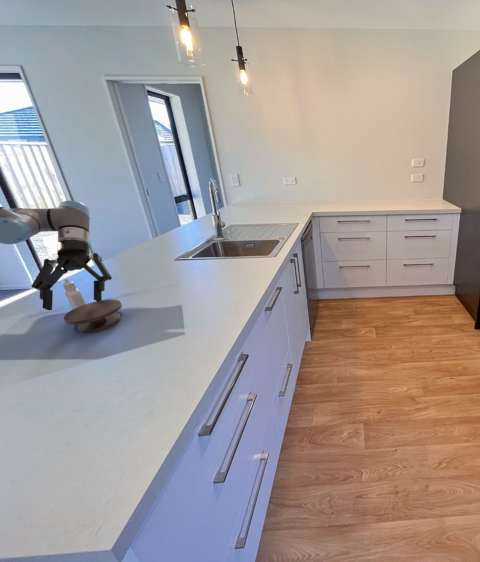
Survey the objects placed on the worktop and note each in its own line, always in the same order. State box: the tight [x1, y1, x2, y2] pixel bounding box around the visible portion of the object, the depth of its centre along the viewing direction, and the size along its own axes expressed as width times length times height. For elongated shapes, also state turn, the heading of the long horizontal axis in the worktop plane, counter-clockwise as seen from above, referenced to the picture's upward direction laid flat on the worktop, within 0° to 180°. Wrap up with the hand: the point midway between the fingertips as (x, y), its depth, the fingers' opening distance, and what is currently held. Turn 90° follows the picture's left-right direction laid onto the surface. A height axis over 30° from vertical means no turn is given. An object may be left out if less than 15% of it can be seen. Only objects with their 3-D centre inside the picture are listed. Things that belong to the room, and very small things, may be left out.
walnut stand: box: [63, 298, 123, 334], centre depth 90 cm, size 13×13×5 cm
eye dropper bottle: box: [62, 278, 87, 310], centre depth 95 cm, size 4×6×12 cm
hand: (73, 304), depth 93 cm, fingers open, 12 cm apart
